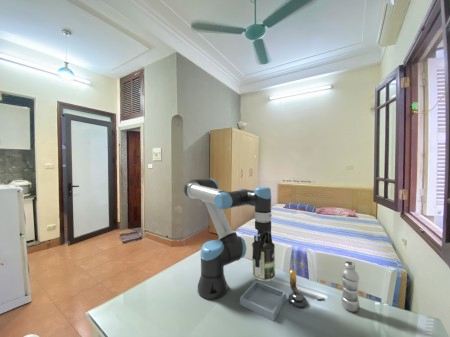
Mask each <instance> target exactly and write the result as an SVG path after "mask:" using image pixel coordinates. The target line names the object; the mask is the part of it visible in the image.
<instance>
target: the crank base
mask: <svg viewBox="0 0 450 337" xmlns="http://www.w3.org/2000/svg"><path fill="white" fill-rule="evenodd" d="M288 303H289V304H290V305H291V306H293V308H294V307H295V308H297V309H304V308H306V307H307V306H308V300H307V298H306V297H305V296H304V295H303V302H296V301H294V300H293V299H292V293H290V294H289V295H288Z"/></svg>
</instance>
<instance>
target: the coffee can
mask: <svg viewBox="0 0 450 337" xmlns="http://www.w3.org/2000/svg"><path fill="white" fill-rule="evenodd" d="M260 242H262V241H260ZM251 246H252V248H251V250H253V247H254V241H253V242H252V244H251ZM275 246H276V245H275V243H273V241H272V242H269V243H267V242H265V243H264V244H263V248H262V249H260V250H261V258H260V259H261V271H262V274H261V275H260V274H257V273H255V260H254V259H252V276H253V278H255V280H257V281H258V280H259V281H260V282H261V281H262V282H270V281H273V280H274V279H275V278H276V267H275V266H276V264H275V263H276V262H275V261H276V259H275V255H276V254H275V251H276V250H275Z"/></svg>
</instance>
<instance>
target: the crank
mask: <svg viewBox="0 0 450 337" xmlns="http://www.w3.org/2000/svg"><path fill="white" fill-rule="evenodd" d="M289 285H290V287H289V288H290V290H291V294H292V299H293V300H294V301H296V302H303V296H304V295H303V293H301V292H299V289H298V287H297V270H296V269H293V268H291V269H289Z"/></svg>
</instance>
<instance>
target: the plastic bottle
mask: <svg viewBox="0 0 450 337" xmlns="http://www.w3.org/2000/svg"><path fill="white" fill-rule="evenodd" d="M340 275H341V281H342V294H341V305H342V306H343V308H344V309H345V310H347V311H349V312H353V313H357V312H358V311H359V310H360V301H359V296H358V295H359V294H358V290H359V288H358V287H359V281H360V276H359V274H358V273H357V271H356V264H355V263H354V262H352V261H349V260H348V261H345V262H344V268H343V269H342V270H341V272H340Z"/></svg>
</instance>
